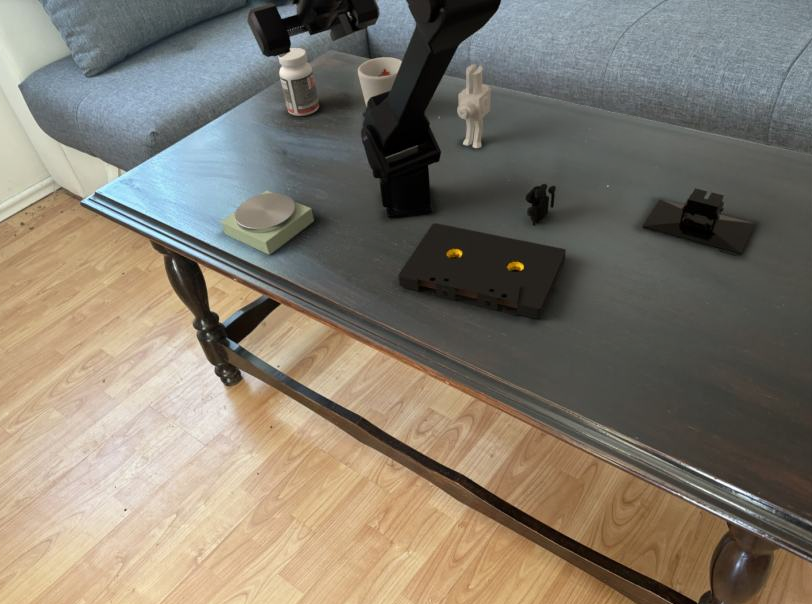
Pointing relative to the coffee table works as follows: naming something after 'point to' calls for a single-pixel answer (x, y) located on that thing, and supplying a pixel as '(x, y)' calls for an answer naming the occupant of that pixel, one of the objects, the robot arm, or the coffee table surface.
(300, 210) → the scale
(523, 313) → the cassette tape
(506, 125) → the coffee table surface
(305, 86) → the pill bottle
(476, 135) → the toy robot
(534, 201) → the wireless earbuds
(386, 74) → the cup
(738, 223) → the build plate
